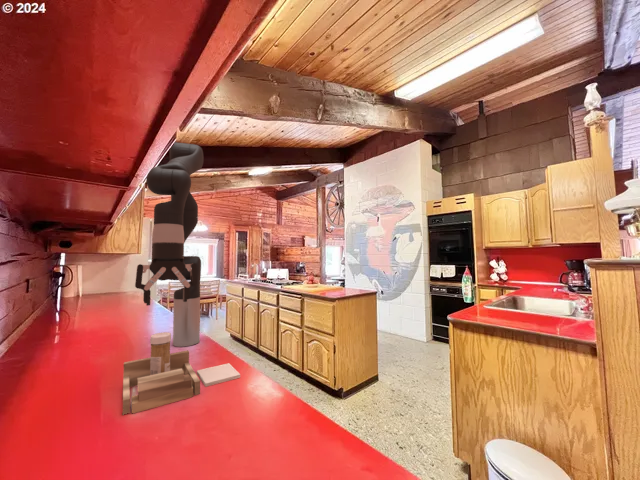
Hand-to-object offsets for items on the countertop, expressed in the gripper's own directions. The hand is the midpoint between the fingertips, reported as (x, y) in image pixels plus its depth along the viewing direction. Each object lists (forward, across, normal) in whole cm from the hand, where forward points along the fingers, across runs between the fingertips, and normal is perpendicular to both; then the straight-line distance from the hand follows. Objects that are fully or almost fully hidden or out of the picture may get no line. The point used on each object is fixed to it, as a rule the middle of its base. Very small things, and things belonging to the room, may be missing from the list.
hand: (167, 303), depth 73 cm
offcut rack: (+21, +1, +3) cm, 21 cm away
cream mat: (+21, -13, +2) cm, 24 cm away
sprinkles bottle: (+21, +1, +1) cm, 21 cm away
